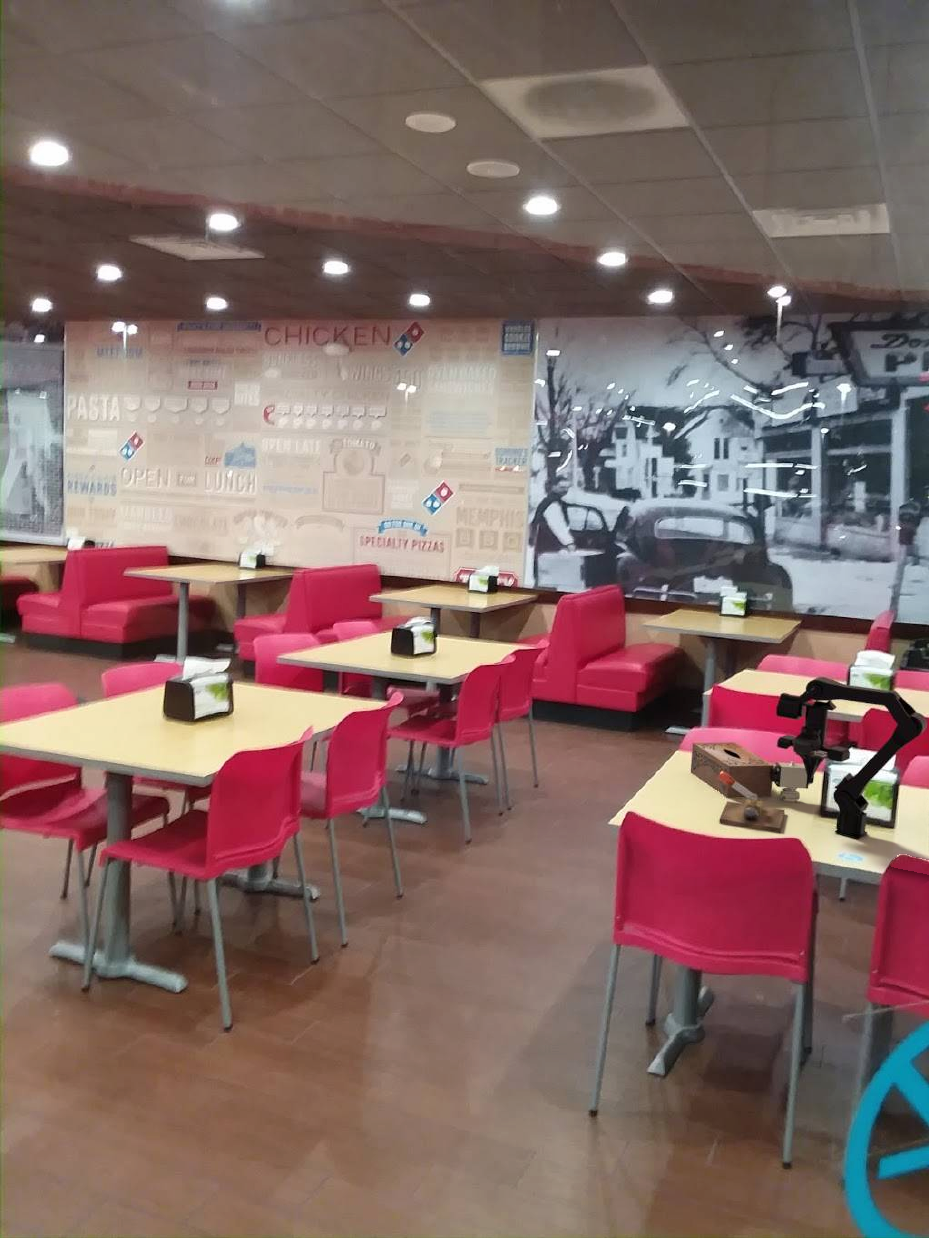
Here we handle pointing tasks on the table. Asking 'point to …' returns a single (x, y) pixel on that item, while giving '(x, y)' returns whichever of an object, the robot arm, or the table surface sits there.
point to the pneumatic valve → (790, 779)
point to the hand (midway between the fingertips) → (809, 778)
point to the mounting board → (767, 821)
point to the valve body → (752, 809)
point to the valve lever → (736, 785)
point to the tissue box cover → (731, 768)
